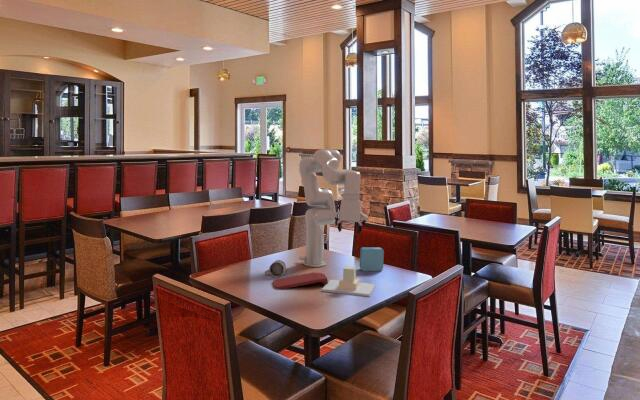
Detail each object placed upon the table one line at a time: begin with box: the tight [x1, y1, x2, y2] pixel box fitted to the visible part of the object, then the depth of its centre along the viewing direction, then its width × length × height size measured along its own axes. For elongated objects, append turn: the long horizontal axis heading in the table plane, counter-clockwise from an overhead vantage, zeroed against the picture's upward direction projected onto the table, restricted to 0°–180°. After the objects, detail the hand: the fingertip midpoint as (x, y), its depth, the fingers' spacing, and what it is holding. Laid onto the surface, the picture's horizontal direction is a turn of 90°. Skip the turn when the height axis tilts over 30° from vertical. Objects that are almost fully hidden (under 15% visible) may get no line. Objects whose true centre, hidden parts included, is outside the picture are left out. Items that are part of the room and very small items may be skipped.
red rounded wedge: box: [272, 272, 329, 290], centre depth 220 cm, size 12×5×25 cm
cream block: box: [342, 265, 357, 282], centre depth 214 cm, size 5×5×6 cm
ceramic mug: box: [264, 259, 287, 278], centre depth 235 cm, size 11×8×8 cm
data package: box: [359, 246, 385, 272], centre depth 248 cm, size 12×4×12 cm, turn 96°
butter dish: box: [321, 277, 376, 297], centre depth 215 cm, size 22×16×4 cm
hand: (349, 232), depth 223 cm, fingers open, 9 cm apart
